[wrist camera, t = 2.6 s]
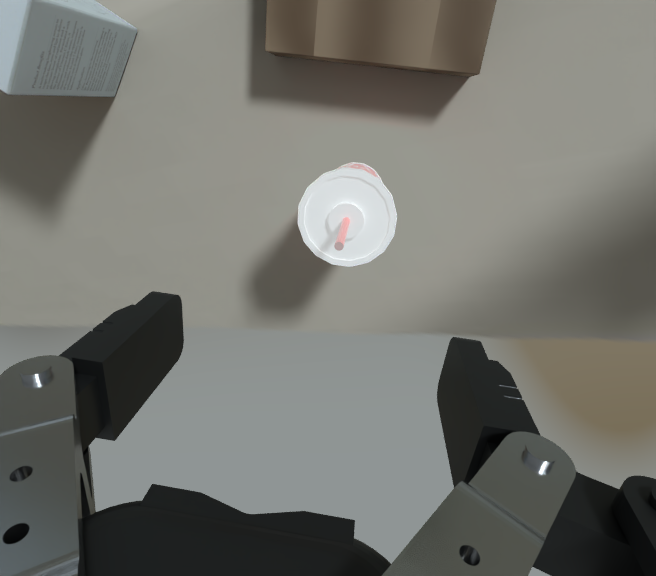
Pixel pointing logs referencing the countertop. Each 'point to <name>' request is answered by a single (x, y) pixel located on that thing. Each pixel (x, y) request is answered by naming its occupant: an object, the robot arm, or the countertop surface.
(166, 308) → the robot arm
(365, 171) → the beverage cup
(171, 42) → the countertop surface
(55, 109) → the countertop surface
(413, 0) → the socket plate
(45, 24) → the small box
